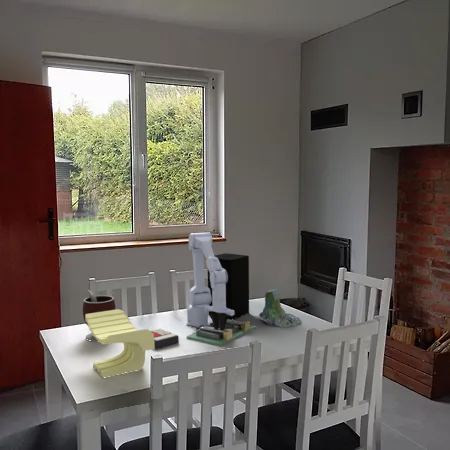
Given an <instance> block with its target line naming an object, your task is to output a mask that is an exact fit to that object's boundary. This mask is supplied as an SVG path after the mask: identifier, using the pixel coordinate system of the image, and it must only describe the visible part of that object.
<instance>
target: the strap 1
mask: <svg viewBox="0 0 450 450" xmlns="http://www.w3.org/2000/svg"><path fill="white" fill-rule="evenodd" d="M208 326H209V325H208ZM208 326H203V327H200V329H203V330H210V331H217V332H223V331H225V330H227V329H224V330H220V328H218V329H215V328H214V327H208ZM200 329H199V330H200Z"/></svg>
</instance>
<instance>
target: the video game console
mask: <svg viewBox="0 0 450 450" xmlns="http://www.w3.org/2000/svg"><path fill="white" fill-rule="evenodd" d="M214 256H215V257H217V258H218V260H219V262H220V264H221V267H222V268H224V270H226V271H227V275H228V281H227V283H225V284H226V308H228V309H231V310H234V315H233V316H230V315H229V317H228V319H230V320H236V319H239V318H241V317H243V316H245V315H249V314H250V256H249V255H244V254H236V253H228V252H225V253H221V254H214ZM207 287H208V288H209V289H210V293H211V297H212V288H211V282H210V272H209V270H208V269H207ZM209 306H213V302H212V301H211V303H210V304H209ZM210 313H211V311H208V316H209V314H210ZM220 314H221V313H220Z"/></svg>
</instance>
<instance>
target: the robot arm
mask: <svg viewBox="0 0 450 450" xmlns="http://www.w3.org/2000/svg"><path fill="white" fill-rule="evenodd" d="M212 244H213V235H212V233H211V232H210V231H209V232H208V231H207V232H195V233H194V232H191V233H190V234H189V235H188V249H189V251H191V252H192V263H193V277H194V278H193V282H194V286H192V287H191V288H190V289H189V291H188V304H189V306H188V308H187V315H186V316H187V323H186V325H187V326H191V327H192V326H193V327H195V328H196V327H198V326H200V325H204V326H209V325H210V323H213V324H214V328H215V329H218V328H219V321H220V330H224V329H225V325H226V322H227V319H228V317H229V315H230V316H233V315H234V310H231V309H228V308H226V284H225V283H227V281H228V275H227V271H226V270H224V268H222V267H221V264H220V262H219V260H218V258H217V257H215V254H214V249H213V247H212ZM204 256H205V259H206V261H205V264H206V268H207V271H208V270H209V272H210V282H211V288H212V297H211V293H210V289H209V288H208V286H206V284H205V283H206V282H205V264H204ZM211 301H212V302H213V306H209V304H210V303H211ZM208 311H211V313H210V314H209V315H208ZM220 313H221V314H220ZM209 317H210V319H211V321H212V322H211V321H209Z"/></svg>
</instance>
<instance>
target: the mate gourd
mask: <svg viewBox="0 0 450 450" xmlns="http://www.w3.org/2000/svg"><path fill="white" fill-rule="evenodd" d="M86 292H88V294H89V297H86V298H84V299H83V305H82V316H83V320H84V324H86V326H87V327H88V328H90V327H89V326H88V322H86V318H85V314H90V313H96V312H103V311H110V310H117V308H116V302H115V297H114V296H110V295H95V294H94V292H92V291H91V290H89V289H87V291H86ZM86 339H88V340H91V341H98V340H97V339H96V338H95V337H94V336H93V335H92V332H91V333H89V334H87V335H86V336H85V340H86ZM88 340H87V341H88ZM91 341H90V342H91Z"/></svg>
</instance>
